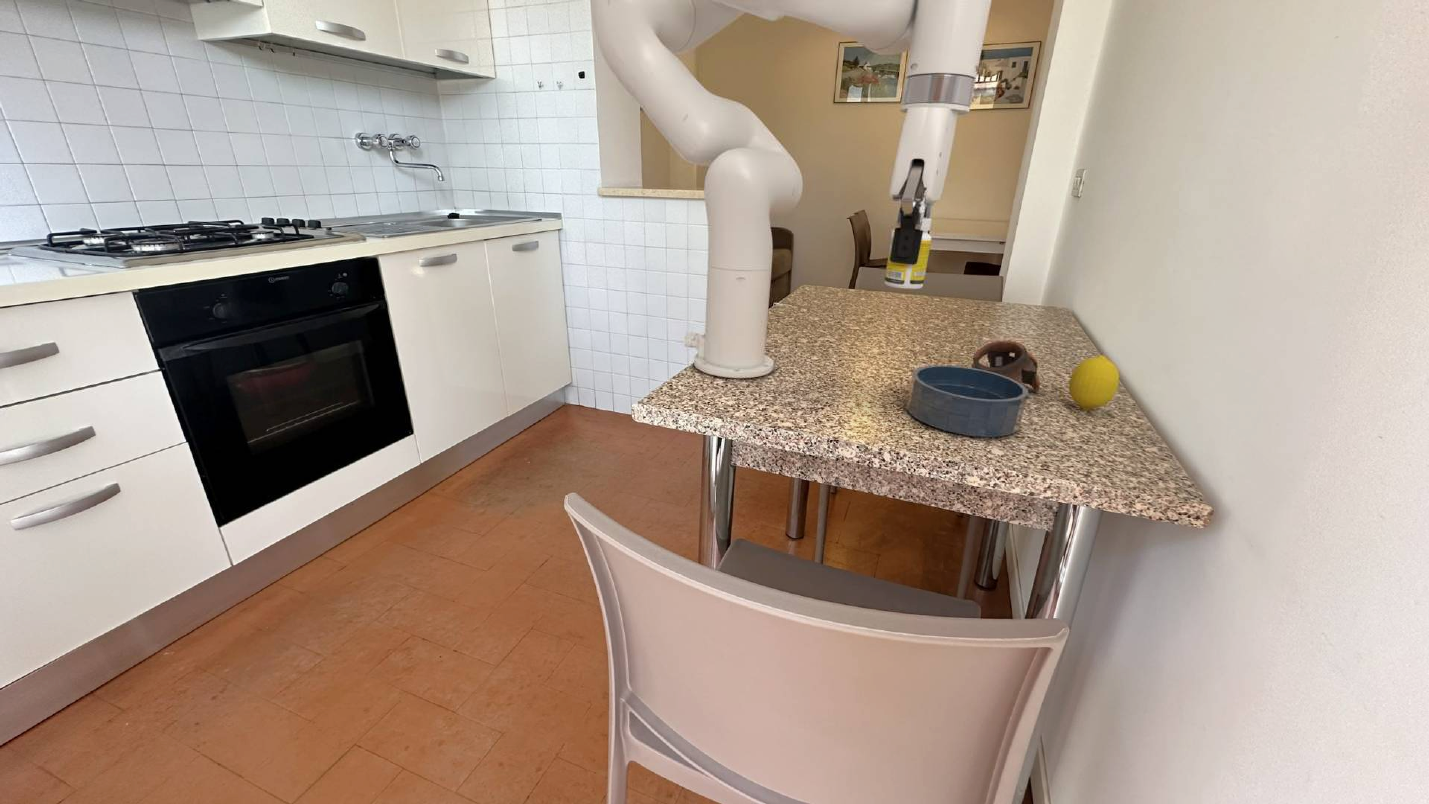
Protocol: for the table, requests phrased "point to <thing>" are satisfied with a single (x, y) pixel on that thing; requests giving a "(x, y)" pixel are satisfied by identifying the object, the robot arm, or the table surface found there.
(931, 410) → the bowl
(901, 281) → the supplement bottle
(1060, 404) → the table surface
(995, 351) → the pottery mug
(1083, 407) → the lemon
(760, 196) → the robot arm
